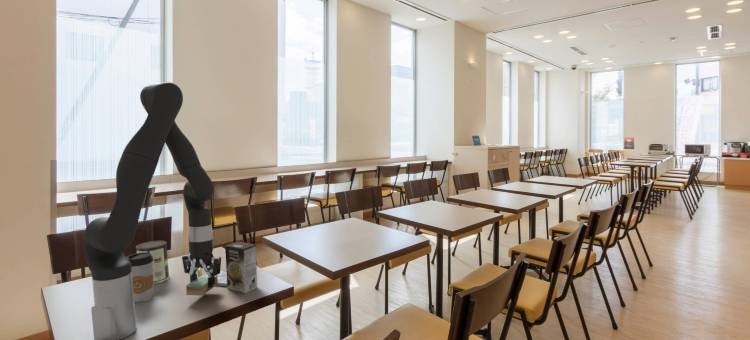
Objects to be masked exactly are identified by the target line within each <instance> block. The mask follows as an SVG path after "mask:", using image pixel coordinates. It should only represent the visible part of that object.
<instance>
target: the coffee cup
mask: <svg viewBox="0 0 750 340" xmlns="http://www.w3.org/2000/svg"><path fill="white" fill-rule="evenodd" d="M125 257H126V258H127V259H128V260H129V261H130V263H131V268H132V280H133V293H134V303H142V302H146V301H148V299H149V300H151V299H152V297H153V295H154V284H153V257H152V256H151V253H146V252H144V253H137V252H135V253H133V254H129V255H127V256H125Z"/></svg>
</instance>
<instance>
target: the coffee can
mask: <svg viewBox="0 0 750 340" xmlns="http://www.w3.org/2000/svg"><path fill="white" fill-rule="evenodd" d="M167 244H168V242H167V241H166V240H150V241H145V242H142V243H138V244H137V245H136V246H135V249H136V253H144V252H146V253H151V256H152V257H153V285H157V284H160V283H163V282H165V281H167V280H170V272H169V261H168V260H169V259H168V247H167Z"/></svg>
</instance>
